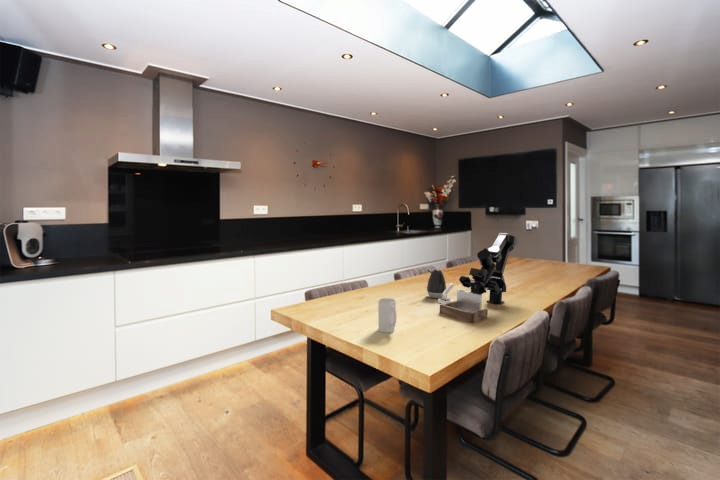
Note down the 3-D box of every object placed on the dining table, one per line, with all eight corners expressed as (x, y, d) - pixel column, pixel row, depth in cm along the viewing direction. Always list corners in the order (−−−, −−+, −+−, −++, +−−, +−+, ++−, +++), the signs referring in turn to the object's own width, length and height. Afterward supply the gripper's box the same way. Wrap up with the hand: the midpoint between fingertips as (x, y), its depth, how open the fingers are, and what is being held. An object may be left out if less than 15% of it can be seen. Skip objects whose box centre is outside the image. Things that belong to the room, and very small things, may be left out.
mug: (374, 328, 147) (375, 299, 146) (389, 326, 150) (389, 297, 149) (387, 337, 138) (388, 305, 137) (402, 334, 141) (403, 303, 140)
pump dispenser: (431, 293, 204) (432, 266, 202) (449, 296, 198) (450, 268, 196) (422, 297, 195) (423, 269, 194) (441, 300, 189) (442, 271, 188)
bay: (454, 309, 175) (454, 300, 175) (487, 318, 162) (487, 309, 161) (439, 313, 168) (439, 304, 168) (472, 323, 155) (473, 314, 154)
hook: (464, 294, 182) (454, 287, 181) (449, 312, 185) (438, 305, 183) (459, 287, 190) (449, 280, 188) (444, 305, 192) (434, 298, 190)
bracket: (458, 310, 173) (459, 289, 172) (481, 316, 164) (482, 294, 163) (447, 313, 168) (447, 292, 167) (469, 320, 159) (470, 297, 157)
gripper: (462, 259, 177) (446, 284, 171) (498, 264, 162) (482, 292, 156) (470, 273, 182) (456, 298, 176) (506, 279, 168) (492, 307, 162)
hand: (471, 299), depth 168 cm, fingers closed, pressing on bracket
